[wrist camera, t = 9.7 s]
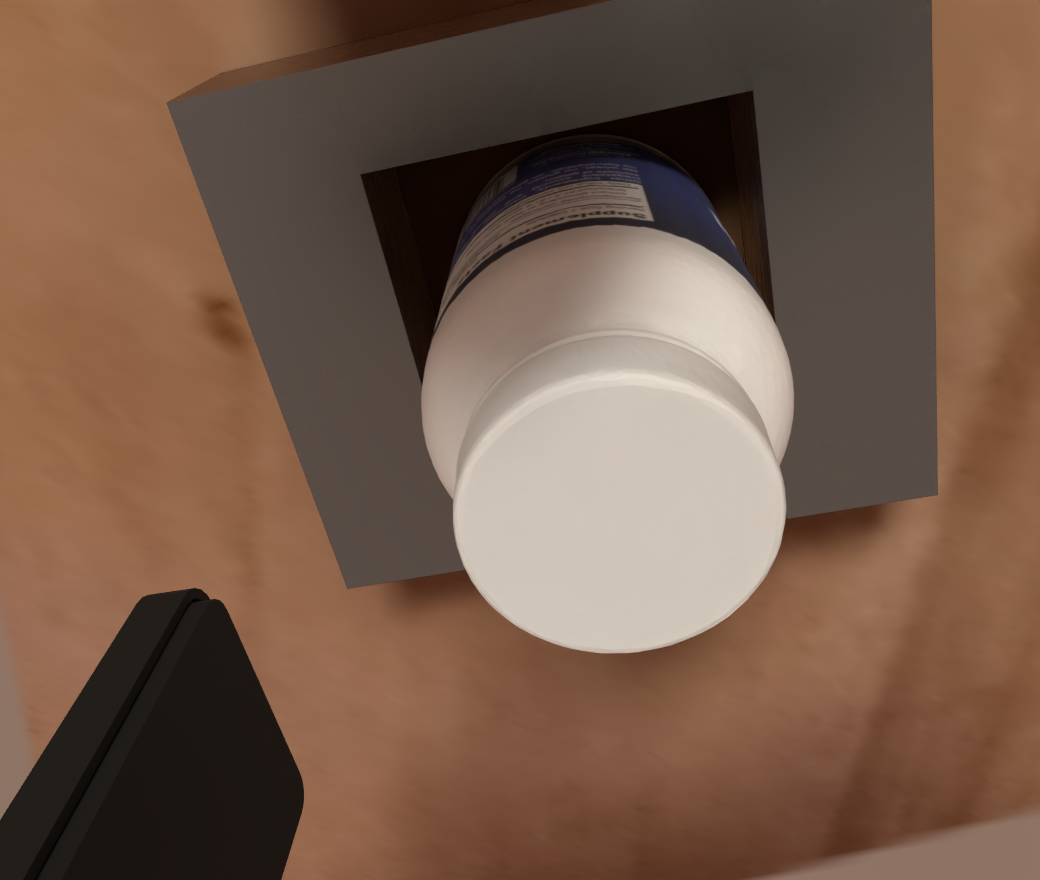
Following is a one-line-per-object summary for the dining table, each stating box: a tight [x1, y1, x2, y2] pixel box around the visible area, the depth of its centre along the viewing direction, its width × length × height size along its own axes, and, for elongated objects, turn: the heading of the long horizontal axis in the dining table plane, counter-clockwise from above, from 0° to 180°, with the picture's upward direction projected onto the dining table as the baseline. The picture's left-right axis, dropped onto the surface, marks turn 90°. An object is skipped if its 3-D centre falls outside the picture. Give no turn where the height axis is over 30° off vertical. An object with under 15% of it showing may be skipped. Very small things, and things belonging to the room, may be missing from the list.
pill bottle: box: [421, 134, 794, 653], centre depth 16 cm, size 5×5×10 cm
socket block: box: [167, 0, 938, 589], centre depth 19 cm, size 12×10×3 cm
